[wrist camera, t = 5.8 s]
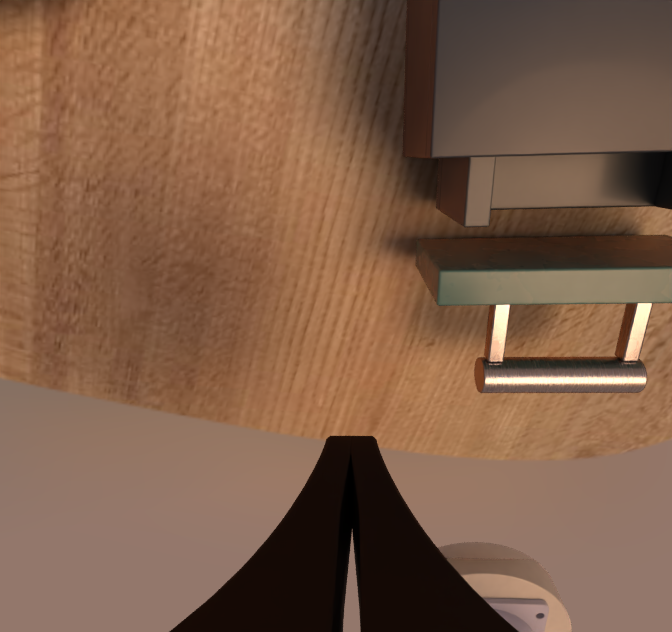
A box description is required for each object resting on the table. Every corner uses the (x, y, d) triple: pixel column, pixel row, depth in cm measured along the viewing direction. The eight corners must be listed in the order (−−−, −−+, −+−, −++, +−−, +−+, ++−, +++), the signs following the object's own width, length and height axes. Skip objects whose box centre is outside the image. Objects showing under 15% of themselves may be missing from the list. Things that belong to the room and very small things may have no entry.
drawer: (636, 352, 20) (730, 418, 15) (411, 353, 20) (429, 418, 15) (753, -115, 14) (978, -267, 9) (430, -97, 14) (470, -230, 9)
